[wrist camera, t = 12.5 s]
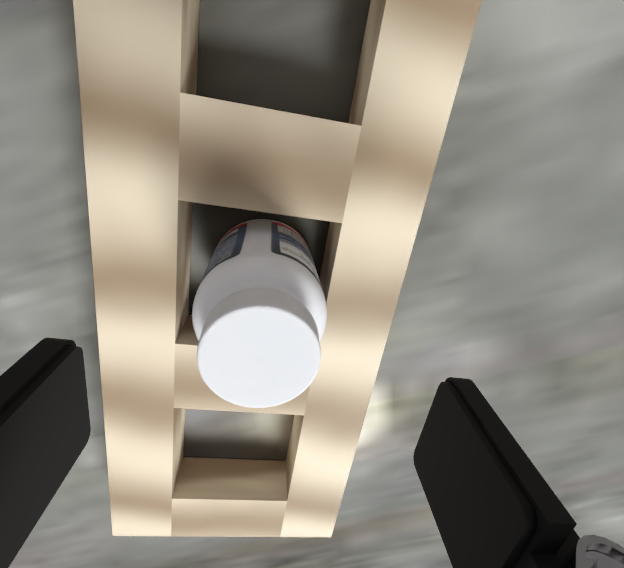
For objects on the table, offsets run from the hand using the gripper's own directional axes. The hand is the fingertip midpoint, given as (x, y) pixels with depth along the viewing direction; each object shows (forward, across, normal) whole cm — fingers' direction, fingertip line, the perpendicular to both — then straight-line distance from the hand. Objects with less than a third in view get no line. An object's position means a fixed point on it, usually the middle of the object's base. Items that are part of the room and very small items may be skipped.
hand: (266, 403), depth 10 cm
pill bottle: (+11, +1, 0) cm, 11 cm away
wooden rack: (+11, +1, 0) cm, 11 cm away
